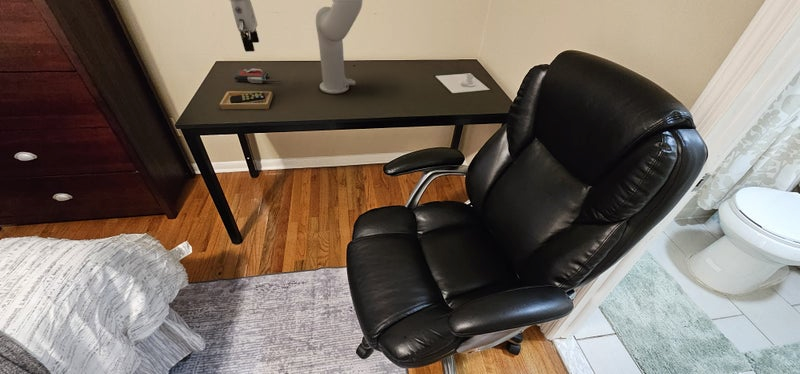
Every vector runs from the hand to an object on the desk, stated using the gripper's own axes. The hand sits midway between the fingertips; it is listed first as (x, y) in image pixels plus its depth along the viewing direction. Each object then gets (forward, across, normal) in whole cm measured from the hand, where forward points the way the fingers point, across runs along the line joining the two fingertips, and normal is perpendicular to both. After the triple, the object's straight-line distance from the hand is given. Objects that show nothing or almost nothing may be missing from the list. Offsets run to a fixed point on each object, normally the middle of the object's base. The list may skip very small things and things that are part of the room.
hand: (252, 46), depth 116 cm
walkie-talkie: (+20, +16, +5) cm, 25 cm away
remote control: (+19, -6, +6) cm, 20 cm away
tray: (+19, -6, +6) cm, 21 cm away
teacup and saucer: (+23, +11, -89) cm, 93 cm away
